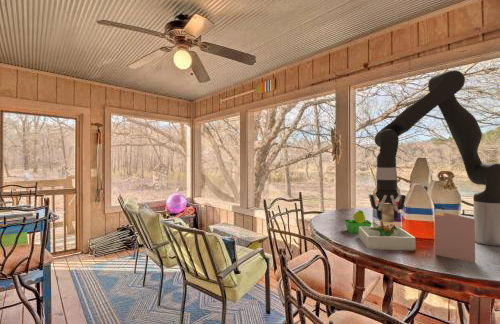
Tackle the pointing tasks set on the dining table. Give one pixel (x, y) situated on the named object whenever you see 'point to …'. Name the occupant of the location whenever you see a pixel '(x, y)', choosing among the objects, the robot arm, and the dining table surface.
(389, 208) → the maple cylinder
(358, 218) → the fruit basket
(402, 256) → the dining table surface
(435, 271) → the dining table surface
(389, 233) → the green branched piece
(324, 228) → the dining table surface
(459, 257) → the greeting card
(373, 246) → the tray
